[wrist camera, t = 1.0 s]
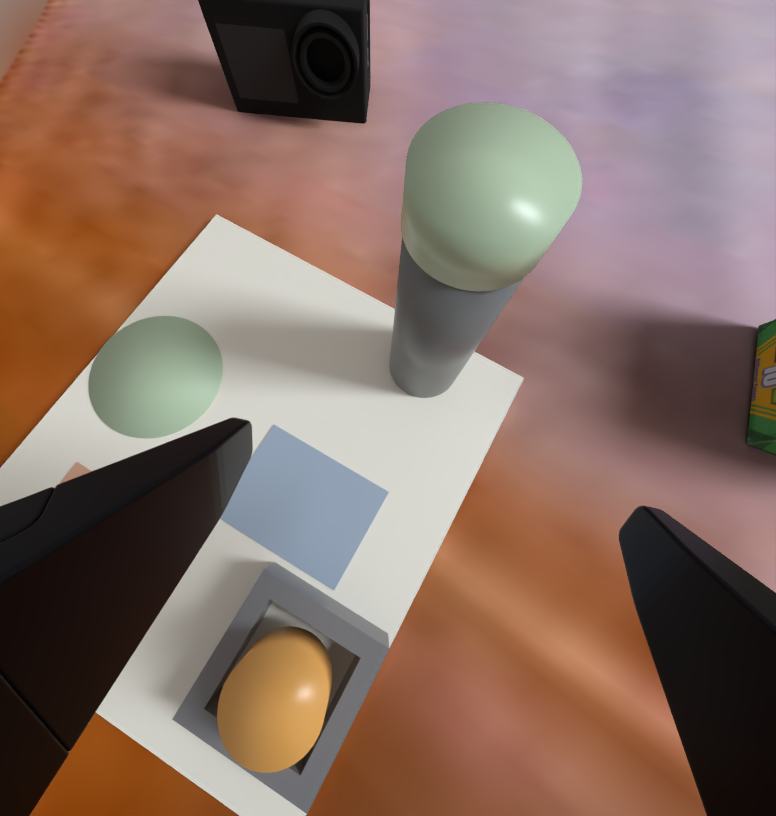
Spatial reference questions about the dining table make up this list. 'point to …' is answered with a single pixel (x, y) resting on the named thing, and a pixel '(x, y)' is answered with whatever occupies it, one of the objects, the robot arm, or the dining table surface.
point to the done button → (276, 700)
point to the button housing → (369, 655)
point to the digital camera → (294, 55)
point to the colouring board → (268, 465)
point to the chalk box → (764, 391)
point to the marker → (472, 232)
